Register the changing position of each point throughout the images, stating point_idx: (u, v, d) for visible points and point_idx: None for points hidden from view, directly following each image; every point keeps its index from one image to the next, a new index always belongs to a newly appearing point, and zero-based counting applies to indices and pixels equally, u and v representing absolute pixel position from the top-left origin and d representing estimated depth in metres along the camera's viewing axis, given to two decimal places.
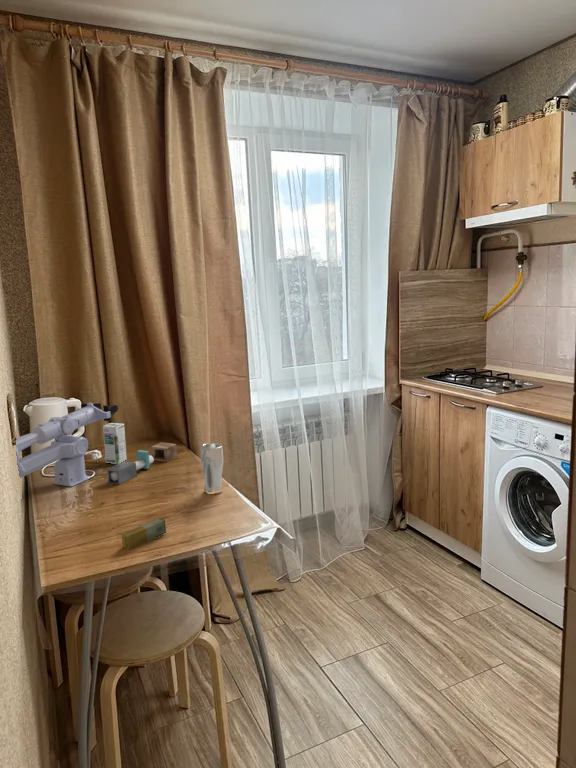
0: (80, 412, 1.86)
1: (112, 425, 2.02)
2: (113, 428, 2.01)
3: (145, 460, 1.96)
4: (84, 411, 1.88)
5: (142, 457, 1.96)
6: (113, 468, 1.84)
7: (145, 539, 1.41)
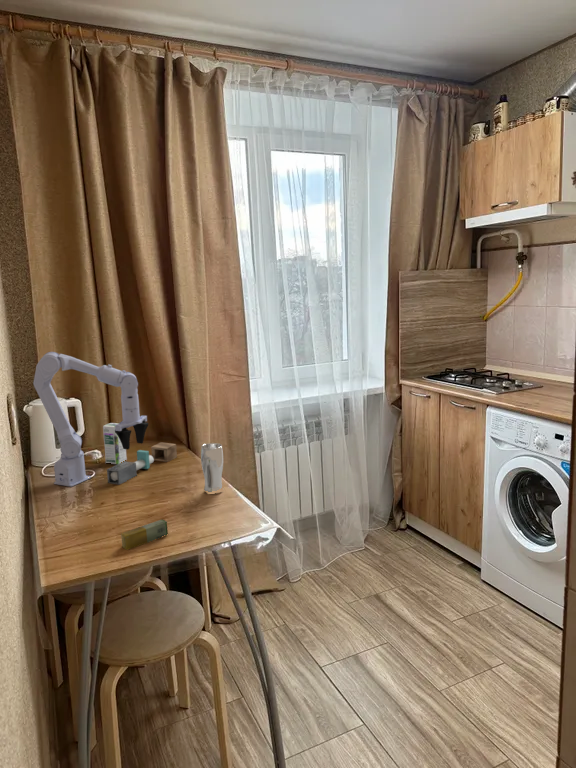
0: (137, 404, 1.88)
1: (112, 425, 2.02)
2: (113, 428, 2.01)
3: (145, 460, 1.96)
4: (133, 410, 1.87)
5: (142, 457, 1.96)
6: (113, 468, 1.84)
7: (145, 539, 1.40)
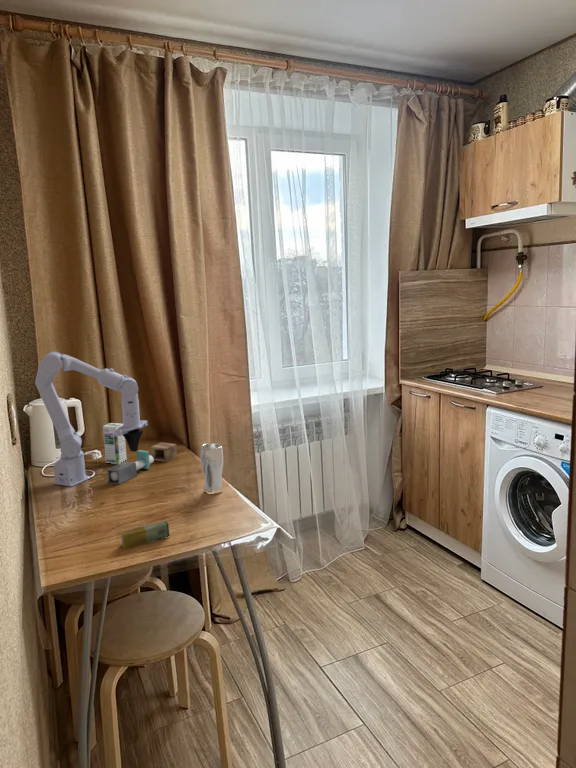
0: (138, 409, 1.89)
1: (112, 425, 2.02)
2: (113, 428, 2.01)
3: (145, 460, 1.96)
4: (133, 414, 1.87)
5: (142, 457, 1.96)
6: (113, 468, 1.84)
7: (144, 540, 1.40)
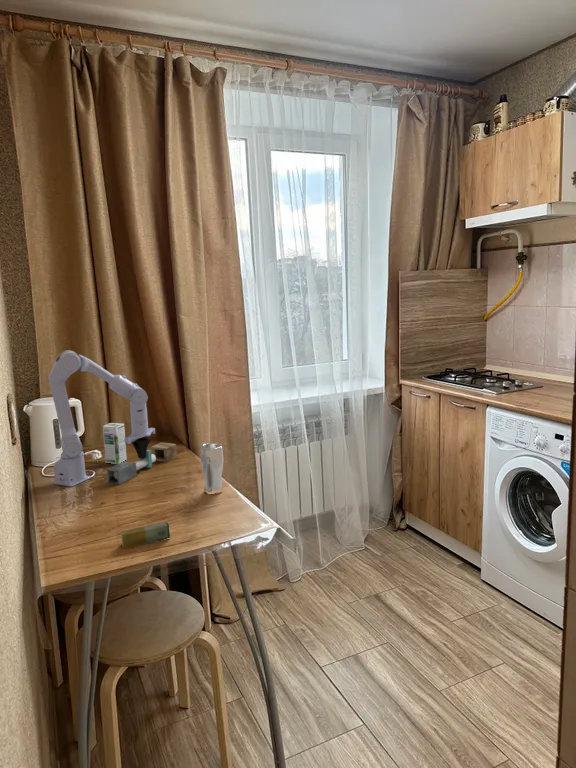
0: (146, 417, 1.93)
1: (112, 425, 2.02)
2: (113, 428, 2.01)
3: (147, 459, 1.97)
4: (141, 423, 1.92)
5: None
6: (113, 468, 1.84)
7: (144, 540, 1.40)
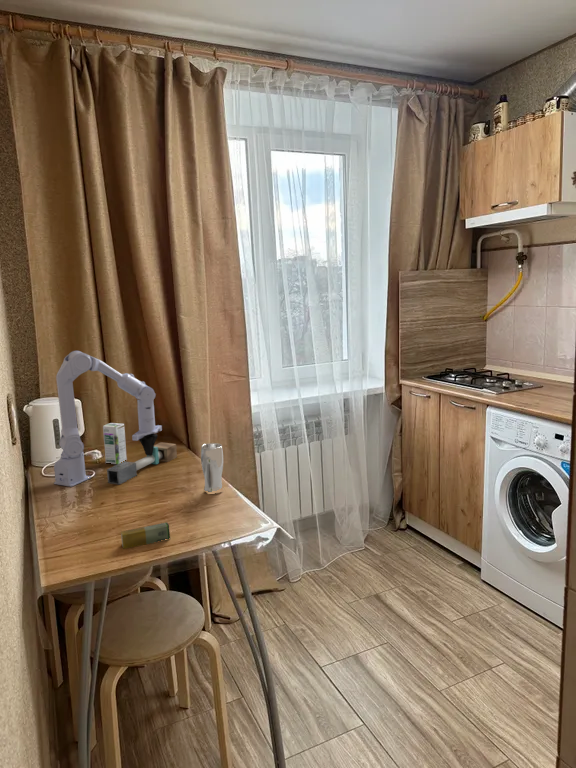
0: None
1: (112, 425, 2.02)
2: (113, 428, 2.01)
3: (154, 456, 2.01)
4: (149, 420, 1.95)
5: None
6: (113, 468, 1.84)
7: (144, 541, 1.40)
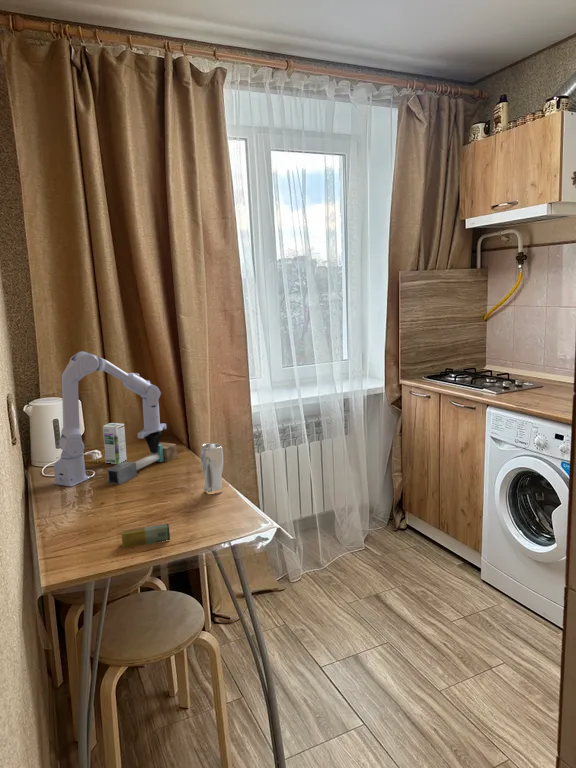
0: None
1: (112, 425, 2.02)
2: (113, 428, 2.01)
3: (159, 453, 2.03)
4: (154, 418, 1.98)
5: None
6: (113, 468, 1.84)
7: (143, 541, 1.40)
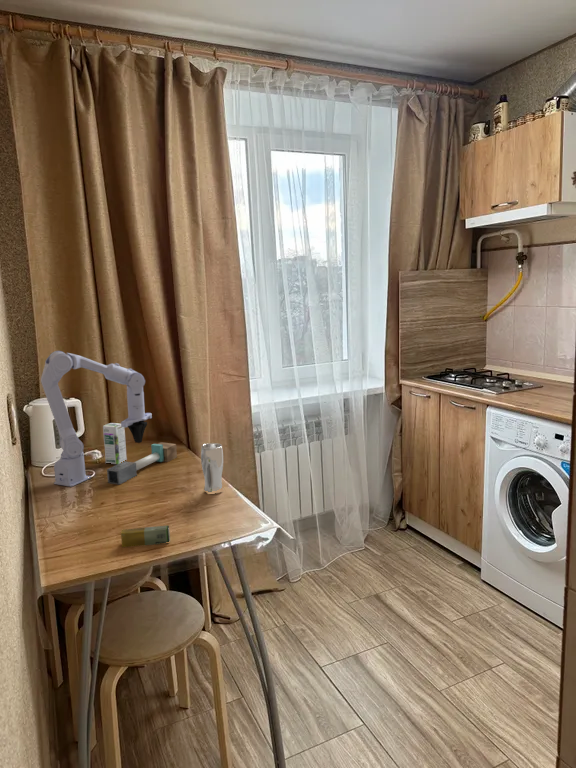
0: (143, 401, 1.94)
1: (112, 425, 2.02)
2: (113, 428, 2.01)
3: (159, 453, 2.03)
4: (138, 407, 1.92)
5: (156, 450, 2.04)
6: (113, 468, 1.84)
7: (142, 541, 1.39)
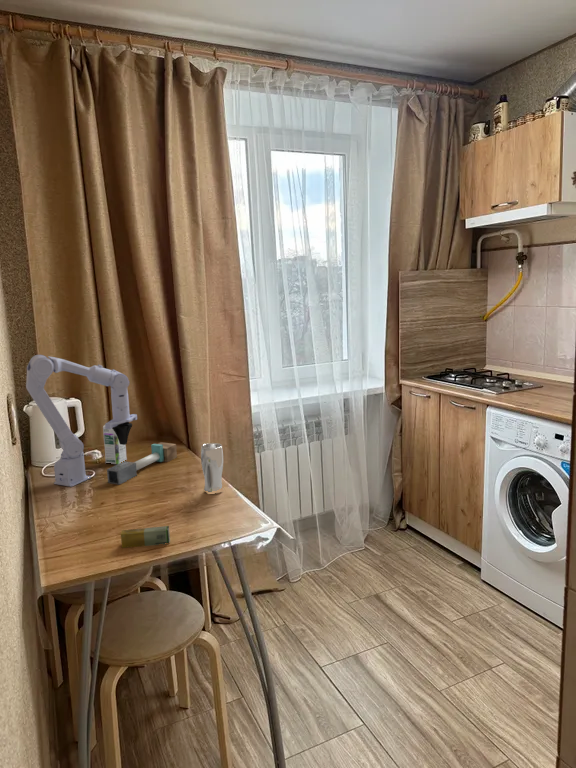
0: (128, 402, 1.92)
1: None
2: None
3: (159, 453, 2.03)
4: (123, 408, 1.90)
5: (156, 450, 2.04)
6: (113, 468, 1.84)
7: (142, 542, 1.39)
